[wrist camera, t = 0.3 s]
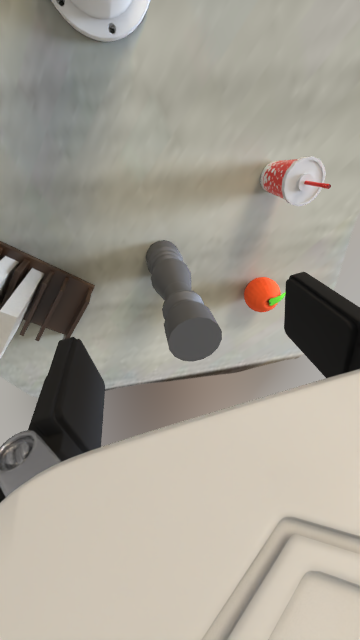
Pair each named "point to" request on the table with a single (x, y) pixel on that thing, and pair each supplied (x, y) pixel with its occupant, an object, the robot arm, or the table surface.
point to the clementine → (262, 294)
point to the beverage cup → (295, 179)
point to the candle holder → (181, 305)
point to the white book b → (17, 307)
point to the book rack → (49, 294)
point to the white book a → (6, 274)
